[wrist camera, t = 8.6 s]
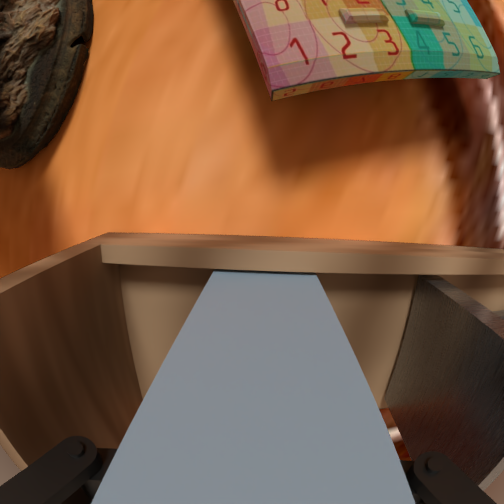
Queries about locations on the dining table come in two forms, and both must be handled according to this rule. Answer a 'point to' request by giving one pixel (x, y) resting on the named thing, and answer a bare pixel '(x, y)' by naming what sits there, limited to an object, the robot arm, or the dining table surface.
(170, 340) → the shelf
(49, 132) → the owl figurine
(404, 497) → the pale blue block
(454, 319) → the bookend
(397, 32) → the puzzle game
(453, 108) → the dining table surface
